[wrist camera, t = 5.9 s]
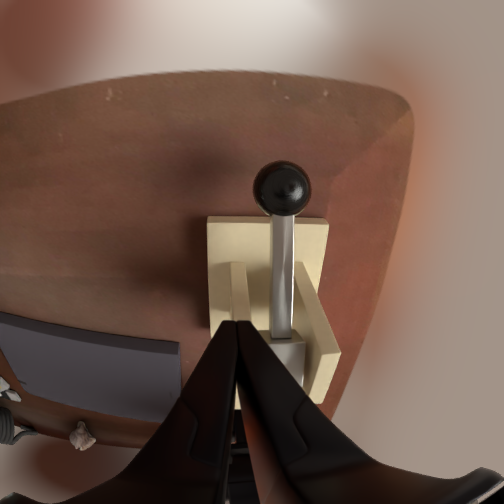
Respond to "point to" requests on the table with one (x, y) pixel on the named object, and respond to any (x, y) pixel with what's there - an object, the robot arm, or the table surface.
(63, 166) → the table surface
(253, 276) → the bracket
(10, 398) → the usb flash drive
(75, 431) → the seashell
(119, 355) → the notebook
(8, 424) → the coil
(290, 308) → the lever
